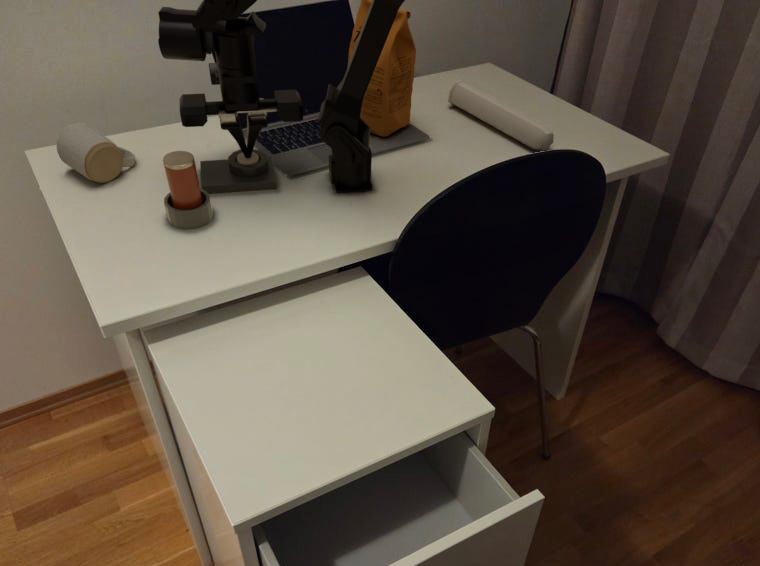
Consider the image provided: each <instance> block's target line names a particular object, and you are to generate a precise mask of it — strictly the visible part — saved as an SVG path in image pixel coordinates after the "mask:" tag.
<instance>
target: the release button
mask: <svg viewBox="0 0 760 566" xmlns="http://www.w3.org/2000/svg"><path fill="white" fill-rule="evenodd" d="M237 162H238V163H239V164H242V165H253V164H256V163H258V162H259V156H258V154H256V153H254V152H252V155H251V158H245V156H244V154H243V152H242V153H240V154H239V155H238V156H237Z"/></svg>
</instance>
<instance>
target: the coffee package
mask: <svg viewBox="0 0 760 566" xmlns="http://www.w3.org/2000/svg"><path fill="white" fill-rule="evenodd" d="M371 2H372V0H360V5H359V7H358V9H357V12H356V13H357V14H356V18H355V23H354V27H353V30H352V35H351V38H350V39H351V40H350V43H349V49H348V59H347V66H348V65H349V62H350V59H351V57H352V54H353V51H354V48H355V46H356V43H357V40H358V37H359V35H360V32H361V29H362V27H363V24H364V21H365V18H366V16H367V13H368V10H369V7H370V5H371ZM411 17H412V16H411V12H410V10H408V9H404V8H399V10H398V12H397V14H396V17H395V19H394V22H393V24H392V27H391V30H390V32H389V35H388V37H387V40H386V42H385V45H384V47H383V50H382V52H381V55H380V57H379V60H378V62H377V65H376V67H375V70H374V72H373V75H372V77H371V80H370V82H369V85H368V87H367V90H366V92H365V95H364V98H363V103H362V109H361V114H360V117H361V118H362V119H363V121H364V122H365V123H366V124H367V125H368V126H369V127H370V134H373V135H375V136H379V137H382V138H385V137H389V135H391V134H393V133H395V132H397V131H398V130H399V129H401V128H406V127H407V125H409V124H410V123H411V111H412V95H413V89H414V87H413V86H414V85H413V84H414V81H415V80H414V79H415V64H416V59H417V58H416V57H417V49H416V44H415V43H414V39H413V35H412V32H411V28H410V25H409V19H411Z"/></svg>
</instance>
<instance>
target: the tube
mask: <svg viewBox="0 0 760 566" xmlns="http://www.w3.org/2000/svg"><path fill="white" fill-rule="evenodd" d="M447 102H448V103H449V104H450V105H451V106H453V107H457V108H458V109H461V110H463V111H464V112H466V113H468V114H470V115H472V116H473V117H475V118H477V119H479V120H481V121H483V123H486V124H488V125H489V126H491V127H493V128H494V129H496V130H498V131H500V132H502V133H504V134H505V135H506V136H509V137H510V138H513V139H514V140H516V141H517V142H520V143H521V144H522V145H524V146H526V147H528V148H530V149H532V150H534V151H535V152H537V153H539V152H538V151H544V150H545V151H546V150H548V149H549V148H550V147H551V145H553V144H554V135H555V134H554V131H553V130H552V129H551V128H550V126H548V125H546V124H544V123H542V122H540V121H538V120H537V119H534V118H533V117H531V116H529V115H527V114H525V113H523V112H521V111H520V110H519V109H516V108H514V107H513V106H510V105H508V104H507V103H505V102H503V101H501V100H499V99H498V98H496V97H493V96H492V95H489V94H488V93H486V92H484V91H483V90H480V89H478V88H476V87H475V86H472V85H471V84H469V83H467V82H466V80H464V79H459V80H456V81H454V82H453V84H452V86H451V88H450V89H449V92H448V99H447ZM545 151H544V152H545Z"/></svg>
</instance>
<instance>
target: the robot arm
mask: <svg viewBox="0 0 760 566" xmlns="http://www.w3.org/2000/svg"><path fill="white" fill-rule="evenodd" d="M257 1H258V0H202V1H201V2H200V5H199V6H198V7H197V9H196V10H195V9H180V8H175V7H171V6H162V7H161V8H160V9H159V11H158V12H157V13H158V18H159V22H158V39H157V42H158V47H159V51H160V53H161V54H160V55H161V56H162V58H163V59H165V60H175V61H176V60H177V61H190V62H191V61H192V62H205V61H206V60H207V59H206V58H207V55H212V54H213V48H214V52H215V60H216V62H209V63H208V69H209V77H210V83H211V85H212V86H219V88H220V95H221V100H220V101H219V100H217V101H207V99H206V94H205V93H183V94H181V96H180V97H179V116H180V122H181V126H182V127H184V128H195V127H196V128H198V127H204V126H205V125H207V122H208V116H218V118H219V123H220V129H221V130H223V131H228V132H229V134H230V135H231V136H232V138H233V139H234V141H236V143H237V145H238V147H239V148H240V149H239V150H242V152H243V154H244V156H245V158H251V155H252V152H253V149H255V145H256V142H257V140H258V136H259V135H260V133H261V131H262V129H266V128H268V126H269V124H268V118H267V116H268V113H277V114H278V119H280V120H281V121H282V122H284V123H291V122H292V123H293V122H301V121H303V120H304V107H303V103H302V98H301V95H300V93H299V91H297V90H296V89H280V90H278V89H277V90H274V98H263V97H260V91H259V81H258V71H257V70H258V69H257V62H256V61H257V60H256V51H255V42H254V36H256V37H257V36H258V37H262V36H263V35H264V33H265V29H266V27H267V24H266V22H265V21H264V20H262V19H261V18H260V17H259V16H258V15H257V14H256V12H255V11H251V12H250V13H249V15H248V16H246V17H244V16H241V15H243V14H244V13H245V12H247V10H248V9H250V8H251V7H252V6H253V5H254V4H255V3H256V2H257ZM405 1H406V0H372V2H371V5H370V7H369V10H368V13H367V16H366V18H365V21H364V24H363V27H362V29H361V32H360V35H359V37H358V40H357V43H356V46H355V48H354V51H353V54H352V57H351V59H350V62H349V65H348V64H347V66H346V67H347V68H346V70H345V73H344V76H343V78H342V80H341V81H340V82H339V84H338V86H334V85H332V84H331V83H329V84H328V85H327V92H326V97H325V99H324V100H323V101H322V103H321V104H320V109H319V114H318V115H319V116H318V120H317V125H319V126H320V130H319V133H320V134H319V135H320V137H321V139H322V142H323V143H325V145H327V146H328V148H330V149H331V154H329V155H328V178H329V181H330V184H331V185H333V188H334V191H335V193H336V194H343V193H357V192H370V191H373V190H374V185H373V183H372V162H373V161H372V158H373V157H372V156H373V152H372V150H371V146H370V139H371V133H370V127H369V126H368V125H367V124H366V123H365V122H364V121H363V119H362V118H361V117H360V114H361V109H362V103H363V98H364V95H365V92H366V90H367V87H368V85H369V82H370V80H371V77H372V75H373V72H374V70H375V67H376V65H377V62H378V60H379V57H380V55H381V52H382V50H383V47H384V45H385V42H386V40H387V37H388V35H389V32H390V30H391V27H392V24H393V22H394V19H395V17H396V14H397V12H398V10H399V9H401V6H402V5H403V4H404V2H405ZM213 45H214V46H213ZM240 114H246V138H245V134H244V131H243V127H242V122H241V119H240Z"/></svg>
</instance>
